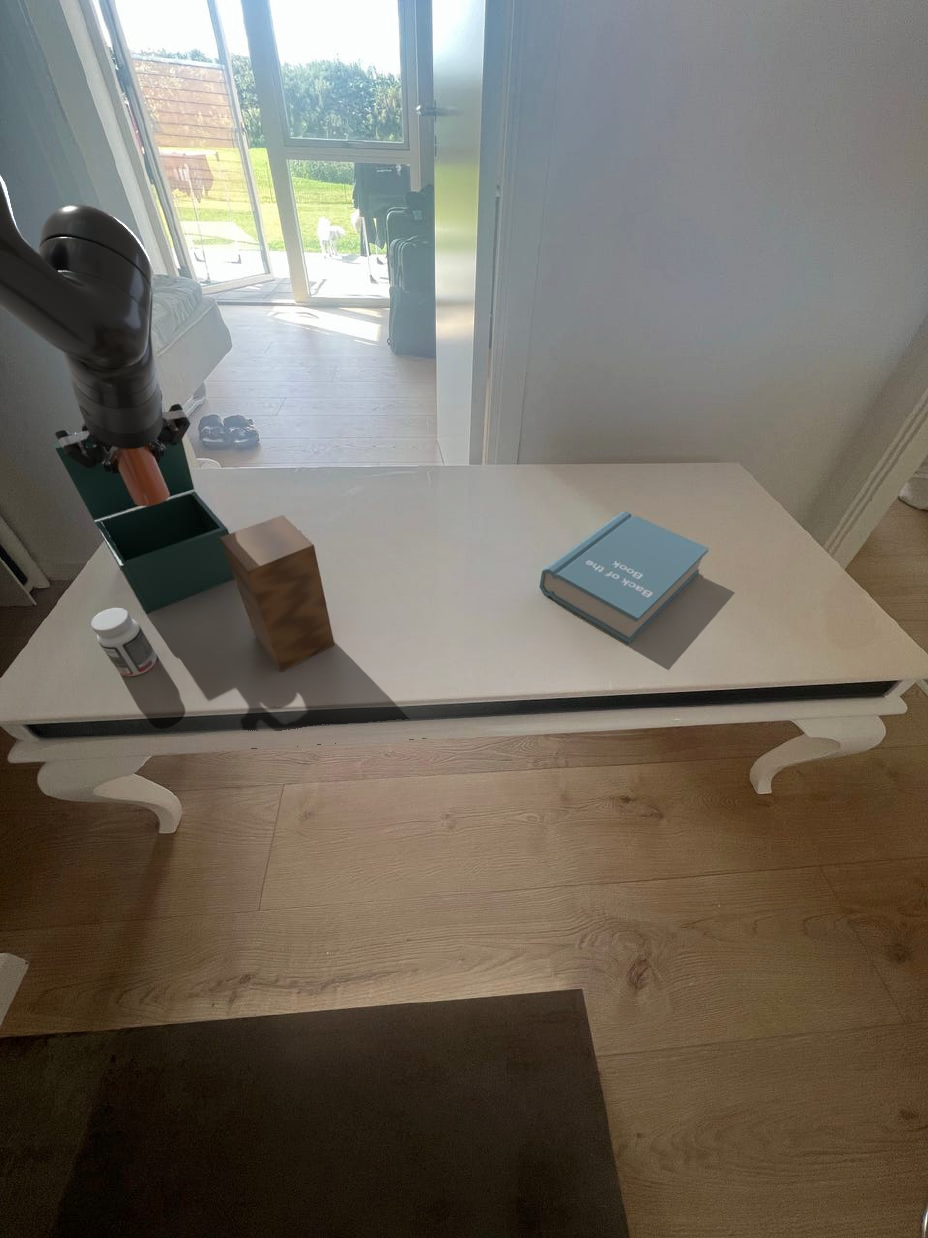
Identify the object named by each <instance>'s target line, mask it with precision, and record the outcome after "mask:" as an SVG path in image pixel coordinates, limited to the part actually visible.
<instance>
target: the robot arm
mask: <svg viewBox="0 0 928 1238" xmlns="http://www.w3.org/2000/svg"><path fill="white" fill-rule="evenodd" d="M153 304H154V273H153V267H152V264H151V260H150V258H149V256H148V253H147V252H146V249H145V248H144V246H143V245H142V243H141V242H140V239H138V238H137V236H136V235H135V234H134V233H133V231H132V230H130V229H129V227H127V226H126V225H125V224H124V223H123V222H121V221H120V220H119V219H118V218H116V217H115V216H113V215H112V214H110V213H108V212H106V211H104V210H102V209H100V208H98V207H94V206H90V205H86V204H68V205H65V206H62V207H59V208H57V209H55V210H53V212H51V213H50V214H49V216H48V217H47V218H46V220H45V221H44V223H43V225H42V228H41V232H40V238H39V246H38V251H37V250H35V248H34V247H33V246H32V245H31V244H30V243H29V242H28V241H27V240H26V239H25V238H24V237H23V236H22V234H21V232H20V230H19V228H18V225H17V223H16V219H15V217H14V214H13V210H12V207H11V201H10V196H9V193H8V188H7V186H6V183H5V181H4V179H3V178H2V176H1V175H0V308H1V309H2V310H3V311H5V312H7V313H8V315H10V316H12V317H13V318H15V319H16V320H17V321H18V322H20V323H21V324H22V325H23V326H25V327H26V328H28V329H29V330H30V331H31V332H33V333H34V334H35V335H37V337H39V338H41V339H42V340H43V341H45V342H47V343H48V344H49V345H51V346H53V347H54V348H55V349H57V350H59V351H61V352H62V354H63V357H64V360H65V362H66V366H67V368H68V370H69V371H68V372H69V373H70V384H71V388H72V391H73V394H74V397H75V399H76V402H77V406H78V408H79V411H80V413H81V416H82V419H83V421H84V423H83V424H82V426H81V431H78V432H71V433H70V432H69V431H67V430H66V429H65V430H64V429H63V430H58V431H56V432H55V433H54V435H55V437H56V439H57V441H58V443H60V444H61V446H62V448H63V449H64V451H65V453H66V455H67V456H69V457H70V458H72V459H74V460H75V461H77V462H78V463H80V464H81V465H83V466H85V467H86V468H93V467H95V466H97V463H101V464H102V466H103V468H104V470H105V471H106V472H109V471H112V473H113V474H116V473H119V471H118V468H117V464H116V462H115V459H119V458H120V457H121V455H122V454H123V452H124V450H127V449H136V448H141V447H144V446H147V447H149V448H150V449H151V450H152V452H153V454H154V456H155V459H156V461H157V462H159V461H161V457H163V456H164V455H165V453H164V450H165V449H166V448H165V446H166V445H167V444H170V445H171V446H176V445H178V444H179V443H180V442H181V440H182V441H183V439H184V436H185V434H186V433H187V431H188V429H189V427H190V426H191V422H190V420H189V418H188V416H187V414H186V412H185V410H184V409H183V407H182V404H180V403H174V404H173V405H171V406H170V408H169V410H166V411H163V404H162V401H163V393H162V390H161V387H160V383H159V379H158V377H157V367H156V366H157V365H156V359H155V353H154V348H153V338H152V328H153V307H154V306H153ZM88 442H89V443H91V444H93V448H88V447H87V445H86V443H88Z"/></svg>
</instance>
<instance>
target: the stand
mask: <svg viewBox="0 0 928 1238" xmlns="http://www.w3.org/2000/svg"><path fill="white" fill-rule="evenodd" d="M220 540H221V543H222V546H223V549H224V551H225V554H226V557H227V560H228V563H229V565H230V568H231V571H232V574H233V577H234V579H233V580H234V583H235V585H236V587H237V591H238V593H239V596H240V598H241V602H242V604H243V607H244V610H245V613H246V616H247V619H248V621H249V624H250V627H251V629H252V632H253V635H254V638H255V640H256V641H257V642H258V643H259V645H260V646H261V647H262V649H263V650H264V652H265V653H266V654H267V655H268V657H269V658H270V660H271V661H272V662H273V664H274V665H275V666H276V668H277V669H278V671H279V672H280V673H283V672H284V671H286V670H289V669H291V668H292V667H294V666H296V665H298V664H300V663H303V662H304V661H306V660H308V659H310V658H312V657H313V656H316V655H317V654H320V653H322V652H324V651H326V650H328V649H329V648H331V647H333V646H335V640H334V634H333V631H332V624H331V620H330V615H329V611H328V606H327V602H326V601H327V600H326V596H325V591H324V585H323V582H322V576H321V571H320V567H319V562H318V559H317V553H316V547H315V544H314V543H312V541H311V540H310V539H308V538H307V537H306V536H305V535H304V534H303V533H302V532H301V530H299V529H298V528H297V526H295V525H294V524H293V523H292V522H291V521H290V520H289V519H288V518H287V517H286V516H285V515H284V514H281V515H279V516H276V517H272V518H271V519H268V520H265V521H264V520H263V521H262V522H259V523H255V524H253V525H251V526H248V527H245V528H243V529H239V530H237V531H234V532H231V533H229V534H228V535H225V536H222V537H220Z"/></svg>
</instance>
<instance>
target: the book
mask: <svg viewBox="0 0 928 1238" xmlns="http://www.w3.org/2000/svg"><path fill="white" fill-rule="evenodd" d="M709 550H710V548H709V547H707V546H705V545H703V544H701V543H698V542H696V541H694V540H692V539H689V538H687V537H685V536H683V535H680V534H679V533H676V532H674V531H671V530H670V529H667V528H665V527H662V526H660V525H658V524H656V523H654V522H651V521H649V520H647V519H644V518H642V517H640V516H637V515H635V514H634V515H632V514H631V512H629V511H627V510H625V511H623V512H620V513H618V514H617V515H615V516H614V517H613V518H612V519H610V520H608V521H607V522H606V523H605V524H603V525H602V526H601V527H599V528H598V529H597V530H595V531H594V532H593V533H591V534H589V535H588V536H587V537H586V538H584V539H583V540H582V541H580V542H579V543H578V544H576V545H575V546H573V547H571V549H570V550H568V551H567V552H565V553H564V554H563V555H561V556H560V557H558V558H557V559H556V560H554V561H553V562H552V563H551V564H549V565H548V566H546V567H545V568H544V569H542V570H541V575H540V581H539V589H540V590H541V592H542V594H543V595H544V596H546V597H547V598H549V597H551V600H552V601H554V602H557V603H558V604H560V605H561V606H563V607H565V608H567V609H569V610H570V611H572V612H574V613H576V614H577V615H578V616H580V617H582V618H584V619H586V620H587V621H589V622H591V623H592V624H594V625H596V626H597V627H599V628H601V629H603V630H605V631H606V632H608V633H609V634H611V635H613V636H615V637H616V638H618V639H620V640H622V641H623V642H625V643H627V644H630V643H631V642H633V640H634V639H635V638H636V637H637V636H638V635H639V634H640V633H641V632H642V631H643V630H644V629H645V628H646V627H647V626H648V625H649V624H650V623H651V622H652V621H653V620H654V618H656V617H658V615H659V614H660V613H661V611H663V610H664V608H666V607H667V606H668V605H669V604H670V603H671V601H673V600H674V599H675V598H676V596H678V594H679V593H680V592H682V591H683V589H684V588H685V587H686V586H687V585H688V584H689V583H690V582H691V581H693V579H694V578H695V577H696V576H697V575H698V574H699V572H700V570H701V569H700V568H699V567H700V565H701V562H702V560H703V558H704V557H705V556H706V554H707V553H709Z"/></svg>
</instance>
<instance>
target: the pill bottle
mask: <svg viewBox="0 0 928 1238" xmlns="http://www.w3.org/2000/svg"><path fill="white" fill-rule="evenodd" d="M90 626H91V628H92V630H93V631H94V633H95V634H96V641H97V642H98V644H99V645H100V647H101V648H102V650H103V651H104V652H105V654H106V655H107V657H108V659H109V660H110V662H111V664H113V666H114V667H115V669H116V670H117V671H118V673H119V674H120V675H122V676H125V677H134V676H139V675H143V674H144V673H146V672H148V671H149V670H151V668H153V667H154V665H155V664H156V661H157V658H158V657H157V653H156V651H155V649H154V647H153V646H152V645H151V643H150V641H149V640H148V638H147V636H146V635H145V633H144V631H143V629H142V628H141V626H140V624H139V623H138V622H137V620H135V619H133V618H132V617H131V616H130V614H129V612H128V611H127V610H126V609H125V608H121V607H110V608H107V609H104V610H102V611H100V612H98V613H97V614H96V615H94V616H93V618H92V619H91V621H90Z"/></svg>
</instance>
